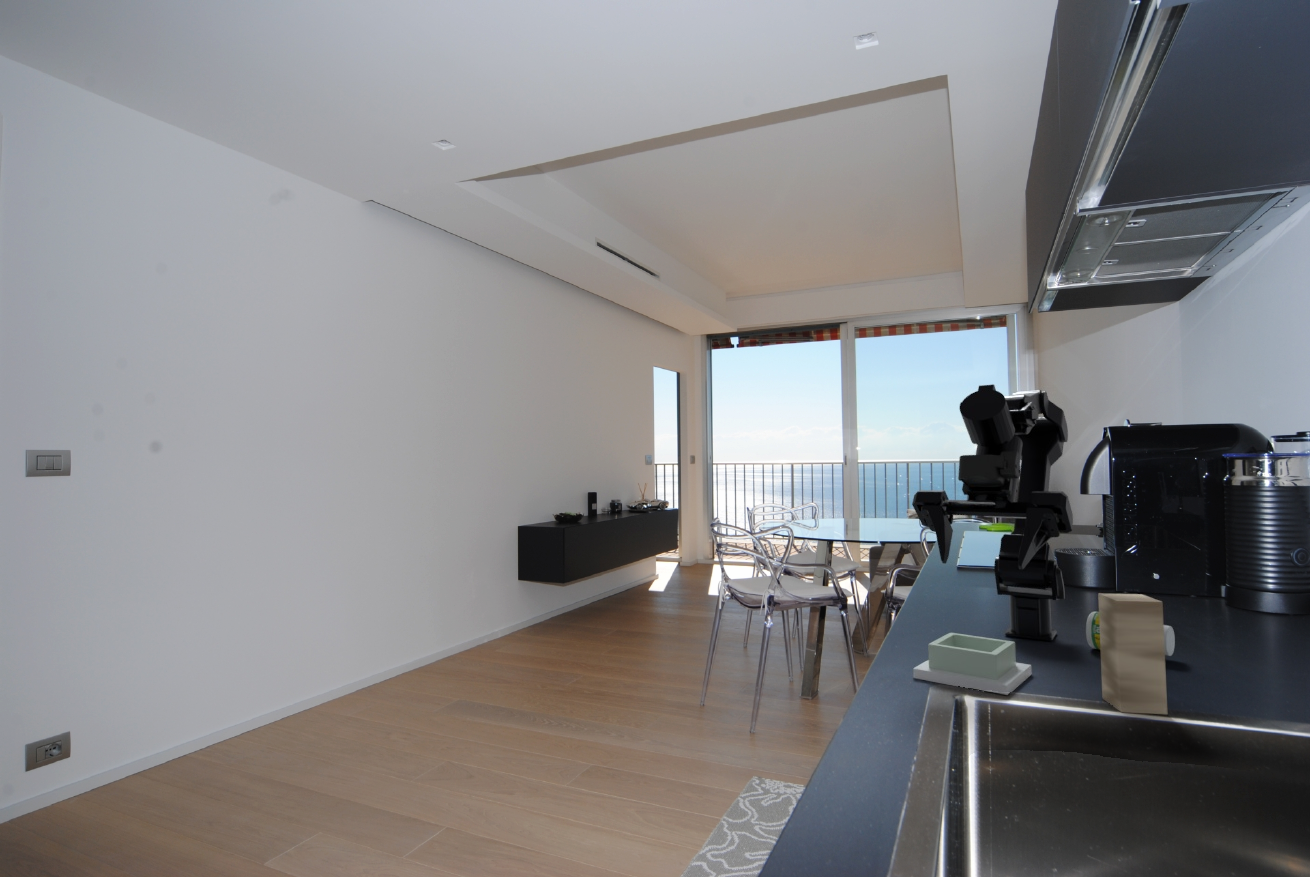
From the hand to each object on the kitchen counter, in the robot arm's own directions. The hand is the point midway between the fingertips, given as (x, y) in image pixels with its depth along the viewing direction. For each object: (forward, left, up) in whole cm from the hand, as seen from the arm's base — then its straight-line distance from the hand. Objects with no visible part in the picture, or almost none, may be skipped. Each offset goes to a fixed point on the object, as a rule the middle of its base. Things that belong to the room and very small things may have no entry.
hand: (980, 564), depth 88 cm
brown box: (+2, +16, -14) cm, 21 cm away
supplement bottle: (-24, +10, -12) cm, 29 cm away
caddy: (0, -1, -14) cm, 14 cm away
